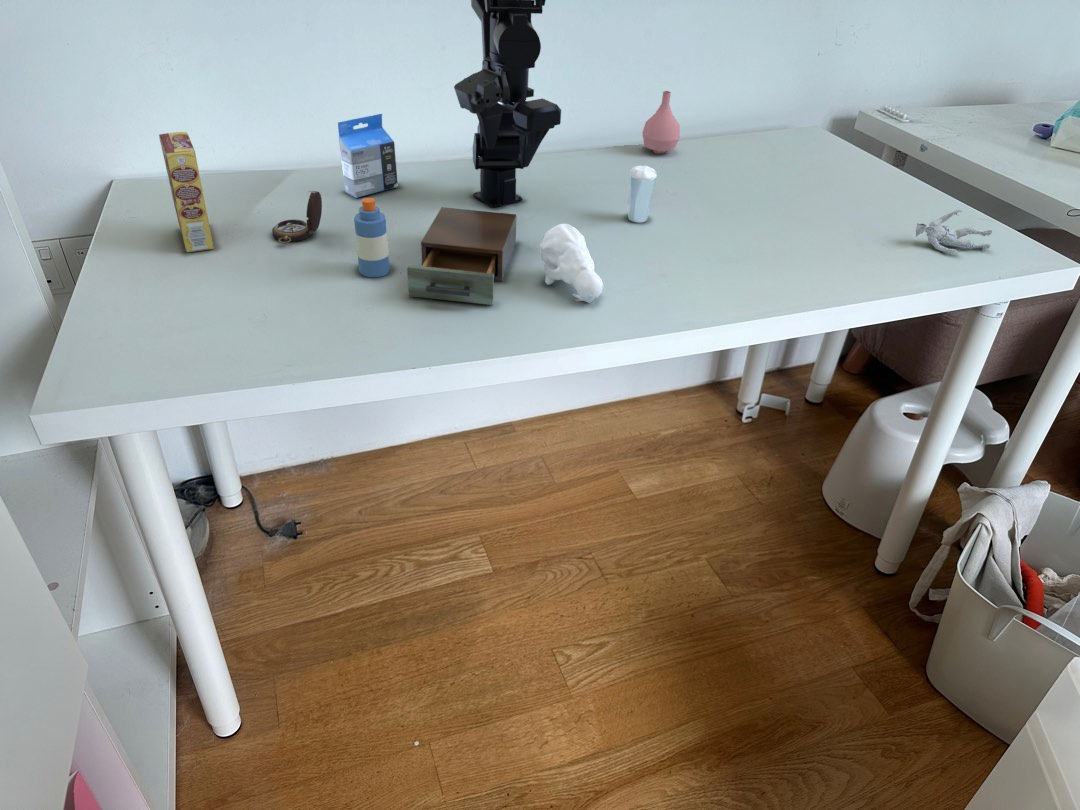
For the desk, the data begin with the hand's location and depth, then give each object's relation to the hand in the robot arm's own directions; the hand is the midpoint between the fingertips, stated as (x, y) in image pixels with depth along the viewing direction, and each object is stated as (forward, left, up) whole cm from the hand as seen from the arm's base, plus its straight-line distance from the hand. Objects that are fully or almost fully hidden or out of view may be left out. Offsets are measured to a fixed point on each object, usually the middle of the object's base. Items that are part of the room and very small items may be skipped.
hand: (507, 157), depth 124 cm
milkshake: (+9, +22, -12) cm, 27 cm away
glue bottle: (+2, -25, -12) cm, 28 cm away
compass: (-15, -30, -12) cm, 36 cm away
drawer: (+12, -17, -12) cm, 23 cm away
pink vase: (-14, +49, -12) cm, 52 cm away
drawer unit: (+6, -11, -12) cm, 17 cm away
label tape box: (-26, -11, -12) cm, 31 cm away
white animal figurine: (+22, -4, -12) cm, 26 cm away
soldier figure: (+45, +60, -12) cm, 76 cm away
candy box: (-22, -43, -12) cm, 50 cm away
